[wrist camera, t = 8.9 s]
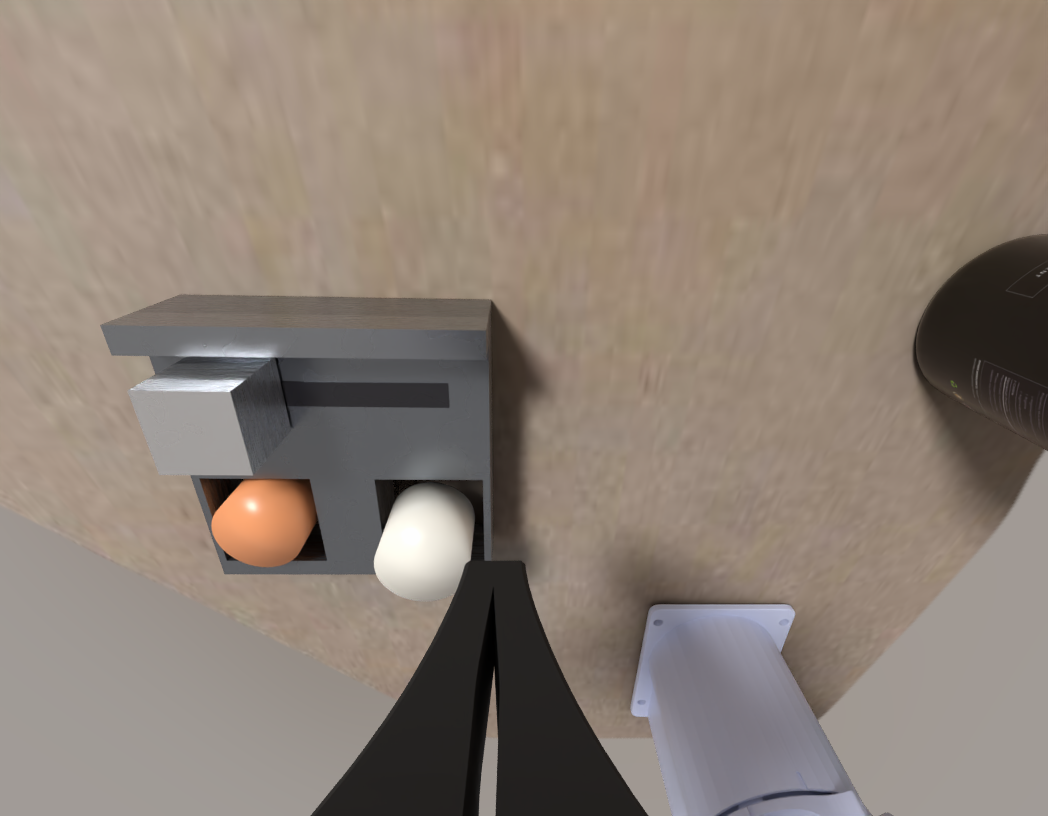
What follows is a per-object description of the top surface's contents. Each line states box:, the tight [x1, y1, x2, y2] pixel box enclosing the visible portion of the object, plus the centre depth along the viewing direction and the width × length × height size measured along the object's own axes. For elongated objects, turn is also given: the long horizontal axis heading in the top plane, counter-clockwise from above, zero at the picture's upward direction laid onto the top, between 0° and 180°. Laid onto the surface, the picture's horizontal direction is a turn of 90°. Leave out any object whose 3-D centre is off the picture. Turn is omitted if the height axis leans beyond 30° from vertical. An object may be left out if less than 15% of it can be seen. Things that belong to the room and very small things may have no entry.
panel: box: [100, 295, 493, 574], centre depth 20 cm, size 12×12×4 cm
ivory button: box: [374, 482, 475, 601], centre depth 20 cm, size 4×4×3 cm
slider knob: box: [128, 356, 291, 476], centre depth 16 cm, size 3×3×3 cm
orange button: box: [211, 479, 318, 567], centre depth 21 cm, size 4×4×3 cm
